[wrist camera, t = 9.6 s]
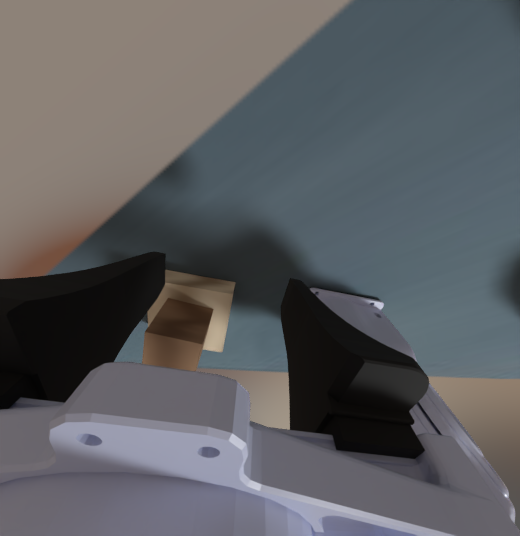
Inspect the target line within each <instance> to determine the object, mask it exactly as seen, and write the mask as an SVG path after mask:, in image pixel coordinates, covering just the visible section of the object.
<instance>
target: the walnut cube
mask: <svg viewBox="0 0 520 536" xmlns="http://www.w3.org/2000/svg"><path fill="white" fill-rule="evenodd" d="M213 310H214V309H212V308H207V307H203V306H199V305H195V304H191V303H187V302H183V301H179V300H175V299H171V298H168V299H167V300H166V302H165V303H164V304H163V306H162V307H161V309H160V310H159V312H158V313H157V315H156V316H155V318H154V319H153V321H152V322H151V324H150V325H149V327H148V328H147V330H146V331H145V337H144V349H143V361H142V364H148V365H155V366H162V367H169V368H175V369H182V370H189V371H196V369H197V366H198V362H199V359H200V356H201V353H202V349H203V346H204V343H205V339H206V336H207V332H208V328H209V325H210V321H211V317H212V314H213Z"/></svg>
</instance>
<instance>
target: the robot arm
mask: <svg viewBox="0 0 520 536" xmlns="http://www.w3.org/2000/svg"><path fill="white" fill-rule="evenodd" d="M164 286H165V254H164V253H159V252H150V253H146V254H142V255H139V256H136V257H132V258H129V259H126V260H122V261H119V262H115V263H111V264H108V265H104V266H100V267H96V268H91V269H87V270H81V271H76V272H70V273H63V274H55V275H48V276H39V277H28V278H15V279H0V536H520V531H519V530H518V528H517V527H516V525H515V524H514V523H515V509H514V506H513V504H512V503H511V501H510V499H509V498H508V497H509V491H508V489H507V488H506V486H505V485H504V483H503V481H502V480H501V479H500V477H499V476H498V474H497V473H496V472H495V470H494V469H493V467H492V466H491V465H490V464H489V462H488V461H487V460H486V459H485V457H484V456H483V454H482V451H481V450H480V449H479V447H478V446H477V444H476V443H475V442H474V440H473V439H472V437H471V436H470V435H469V433H468V432H467V431H466V429H465V428H464V427H463V425H462V424H461V423H460V422H459V420H458V419H457V418H456V416H455V415H454V414H453V413H452V411H451V410H450V409H449V407H448V406H447V405H446V404H445V402H444V401H443V400H442V398H441V397H440V396H439V395H438V393H437V392H436V391H435V390H434V388H433V387H432V386H431V385H430V383H429V379H428V377H427V375H426V374H425V373H424V371H423V370H422V369H421V367H420V366H419V365H418V363H417V361H416V357H415V354H414V352H413V350H412V348H411V347H410V345H409V344H408V342H407V341H406V340H405V339H404V338H403V336H402V335H401V334H400V333H399V331H398V330H397V329H396V328H395V327H394V325H393V324H392V323H391V322H390V320H389V319H388V318H387V317H386V316H385V314H384V313H383V312H382V311H381V309H382V308H383V306H384V303H383V302H382V301H380V300H375V299H369V298H364V297H359V296H354V295H349V294H344V293H338V292H333V291H328V290H323V289H318V288H310V289H309V288H308V287H307V286H306V285H305V284H304V283H303V282H302V281H300V280H297V279H291V278H290V280H289V283H288V286H287V289H286V292H285V295H284V298H283V301H282V304H281V322H282V328H283V334H284V340H285V345H286V351H287V359H288V373H289V394H290V430H287V429H278V428H270V427H266V426H263V425H260V424H258V423H255V422H251V421H250V397H249V392H248V391H246V389H245V388H243V387H242V386H241V385H240V384H239V383H238V382H237V381H236V380H233V379H230V378H227V377H224V376H221V375H217V374H210V373H203V372H196V371H189V370H182V369H175V368H169V367H162V366H155V365H148V364H141V363H134V362H114V360H115V358H116V357H117V355H118V353H119V352H120V350H121V348H122V347H123V345H124V343H125V342H126V340H127V338H128V337H129V335H130V334H131V333H132V331H133V330H134V328H135V327H136V326H137V324H138V323H139V322H140V321H141V319H142V318H143V317H144V315H145V314H146V313H147V312H148V310H149V309H150V308H151V306H152V305H153V304H154V302H155V301H156V300H157V298H158V297H159V295H160V293H161V291H162V289H163V288H164ZM315 292H318V293H317V294H315ZM372 302H373V303H372ZM370 303H372V304H370Z"/></svg>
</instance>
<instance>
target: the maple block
mask: <svg viewBox="0 0 520 536" xmlns="http://www.w3.org/2000/svg"><path fill="white" fill-rule="evenodd" d="M234 287H235V282H231V281H225V280H220V279H214V278H209V277H203V276H198V275H192V274H186V273H181V272H175V271H170V270H165V286H164V288H163V289H162V291H161V293H160V295H159V297H158V298H157V300H156V301H155V302H154V304H153V305H152V306H151V308H150V309H149V310H148V327H149V325H150V324H151V322H152V321H153V319H154V318H155V316H156V315H157V313H158V312H159V310H160V309H161V307H162V306H163V304H164V303H165V302H166V300H167V299H168V298H171V299H175V300H179V301H183V302H187V303H191V304H195V305H199V306H203V307H207V308H212V309H214V310H213V314H212V317H211V321H210V325H209V328H208V332H207V336H206V339H205V343H204V346H203V350H210V351H217V352H222V351H223V346H224V341H225V336H226V331H227V325H228V320H229V314H230V309H231V304H232V298H233V293H234Z"/></svg>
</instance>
